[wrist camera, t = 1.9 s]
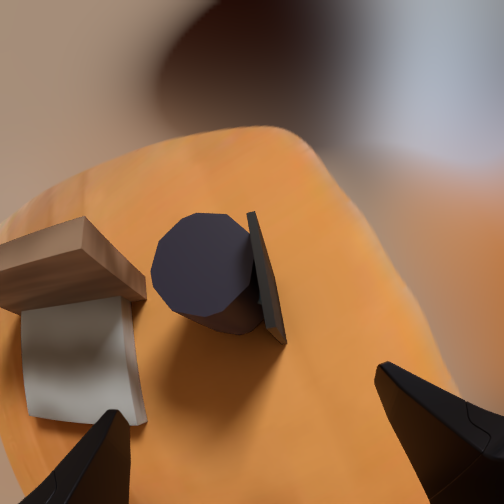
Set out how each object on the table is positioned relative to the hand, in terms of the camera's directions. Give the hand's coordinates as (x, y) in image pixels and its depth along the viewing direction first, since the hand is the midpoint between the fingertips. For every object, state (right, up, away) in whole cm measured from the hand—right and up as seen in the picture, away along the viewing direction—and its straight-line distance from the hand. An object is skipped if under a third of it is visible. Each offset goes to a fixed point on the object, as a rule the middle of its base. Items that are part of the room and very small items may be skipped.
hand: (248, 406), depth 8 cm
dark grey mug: (-1, +1, +13) cm, 13 cm away
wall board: (-15, -5, +11) cm, 19 cm away
